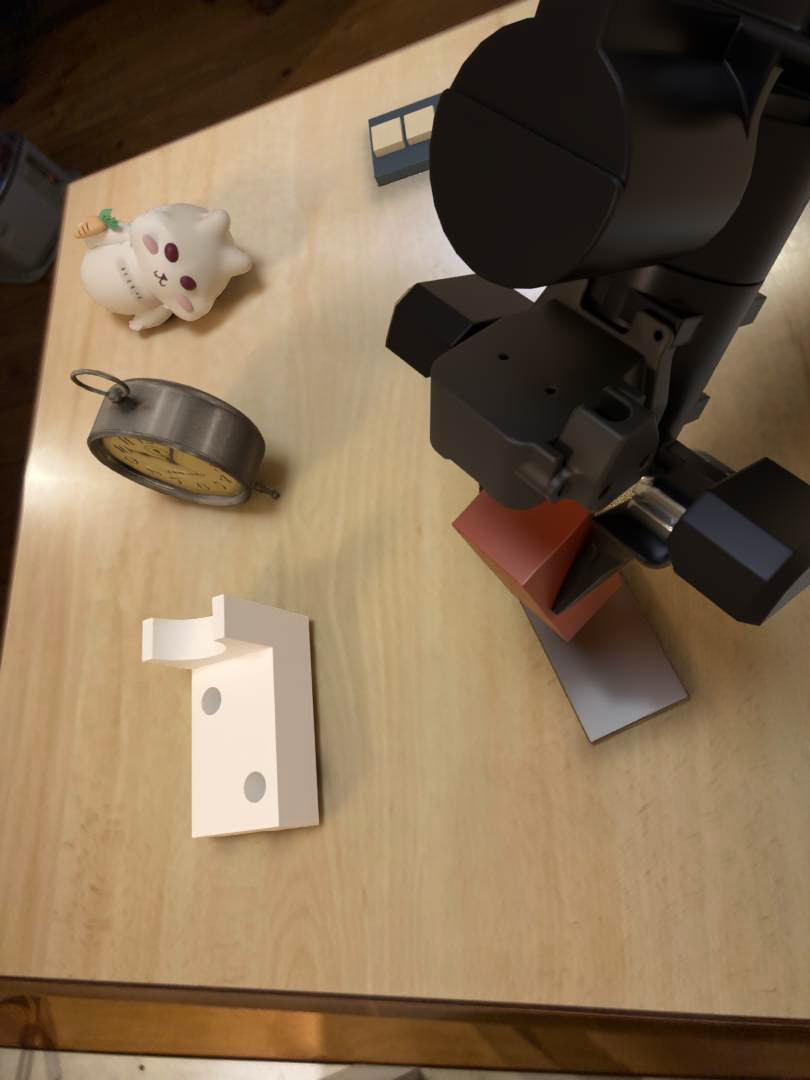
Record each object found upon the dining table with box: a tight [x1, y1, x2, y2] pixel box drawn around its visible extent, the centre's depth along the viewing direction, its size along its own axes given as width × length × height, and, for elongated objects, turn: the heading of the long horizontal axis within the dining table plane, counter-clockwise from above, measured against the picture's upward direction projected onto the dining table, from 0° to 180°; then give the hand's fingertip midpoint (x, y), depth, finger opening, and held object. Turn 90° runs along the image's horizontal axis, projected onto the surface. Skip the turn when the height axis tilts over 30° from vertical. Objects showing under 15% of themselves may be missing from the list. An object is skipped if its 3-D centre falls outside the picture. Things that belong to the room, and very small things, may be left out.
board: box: [518, 570, 691, 746], centre depth 49 cm, size 6×14×2 cm, turn 23°
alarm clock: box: [69, 368, 281, 508], centre depth 54 cm, size 11×5×16 cm, turn 76°
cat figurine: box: [73, 202, 253, 331], centre depth 65 cm, size 10×8×15 cm
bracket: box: [141, 593, 320, 839], centre depth 51 cm, size 13×7×8 cm, turn 5°
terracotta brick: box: [451, 489, 622, 642], centre depth 37 cm, size 4×4×11 cm
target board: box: [367, 92, 442, 187], centre depth 64 cm, size 15×6×2 cm, turn 96°
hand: (523, 578), depth 37 cm, fingers closed on terracotta brick, 4 cm apart
